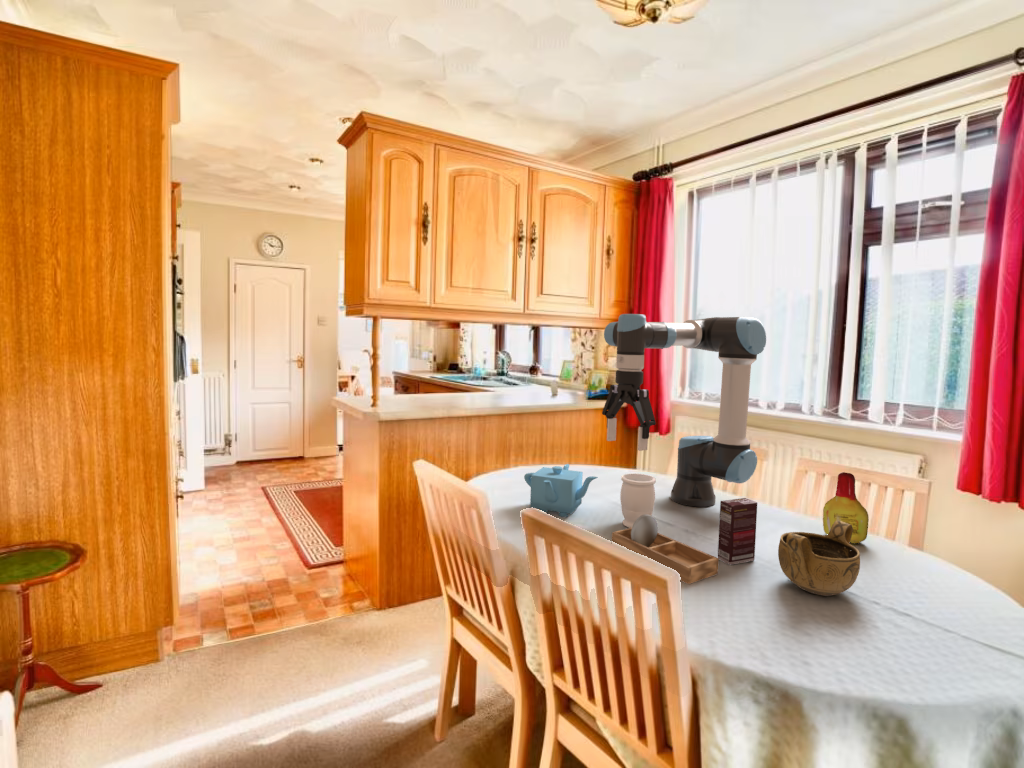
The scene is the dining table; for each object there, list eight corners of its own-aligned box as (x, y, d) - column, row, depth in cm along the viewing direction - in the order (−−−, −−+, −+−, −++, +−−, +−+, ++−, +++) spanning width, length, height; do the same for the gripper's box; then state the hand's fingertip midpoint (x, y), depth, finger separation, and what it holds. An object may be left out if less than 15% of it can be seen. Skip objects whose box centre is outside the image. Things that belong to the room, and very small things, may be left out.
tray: (639, 538, 160) (641, 505, 159) (717, 574, 138) (720, 535, 137) (611, 546, 154) (612, 511, 153) (688, 584, 132) (690, 543, 131)
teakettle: (519, 505, 188) (520, 462, 186) (568, 499, 195) (569, 458, 194) (544, 524, 170) (546, 477, 169) (597, 516, 178) (598, 472, 176)
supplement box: (741, 554, 150) (745, 497, 149) (755, 561, 146) (759, 502, 144) (715, 558, 147) (719, 500, 146) (729, 565, 143) (733, 505, 141)
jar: (654, 532, 165) (656, 483, 163) (618, 529, 167) (621, 480, 165) (652, 520, 175) (655, 474, 174) (619, 517, 177) (621, 471, 176)
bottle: (816, 534, 166) (822, 469, 164) (828, 531, 170) (833, 467, 168) (859, 548, 156) (865, 479, 154) (870, 544, 160) (876, 476, 158)
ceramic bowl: (824, 617, 118) (830, 549, 116) (753, 584, 132) (757, 523, 131) (877, 592, 130) (883, 530, 128) (807, 565, 144) (811, 509, 142)
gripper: (592, 366, 163) (589, 437, 165) (649, 374, 141) (645, 455, 143) (612, 366, 167) (609, 436, 169) (672, 373, 145) (667, 453, 147)
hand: (626, 445), depth 156 cm, fingers open, 13 cm apart
